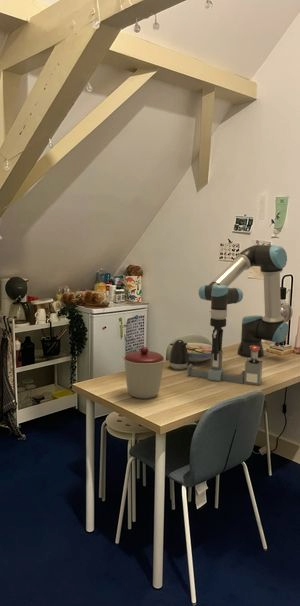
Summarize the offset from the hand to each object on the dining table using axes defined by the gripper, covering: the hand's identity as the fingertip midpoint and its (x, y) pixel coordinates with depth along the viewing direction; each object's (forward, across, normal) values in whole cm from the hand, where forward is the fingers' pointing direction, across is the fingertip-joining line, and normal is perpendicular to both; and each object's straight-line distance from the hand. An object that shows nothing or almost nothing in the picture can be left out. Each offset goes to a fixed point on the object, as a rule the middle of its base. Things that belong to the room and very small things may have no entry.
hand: (216, 365), depth 216 cm
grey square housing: (+7, -3, +17) cm, 19 cm away
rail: (+7, 0, 0) cm, 7 cm away
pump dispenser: (+7, -9, -22) cm, 24 cm away
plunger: (-3, -3, +17) cm, 18 cm away
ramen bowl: (+7, -27, -18) cm, 33 cm away
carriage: (+7, 0, 0) cm, 7 cm away
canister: (+7, +35, -23) cm, 43 cm away
